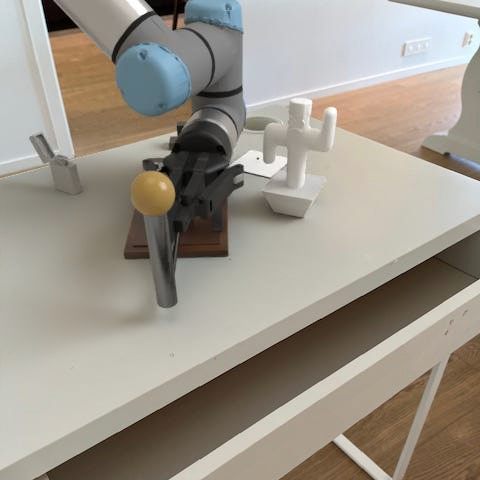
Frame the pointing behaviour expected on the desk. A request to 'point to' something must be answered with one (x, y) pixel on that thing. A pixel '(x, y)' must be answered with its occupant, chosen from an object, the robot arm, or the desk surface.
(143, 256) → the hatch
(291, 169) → the figurine
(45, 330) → the desk surface
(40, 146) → the lighter
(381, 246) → the desk surface
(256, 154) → the white piece
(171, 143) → the keeper
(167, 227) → the bolt
